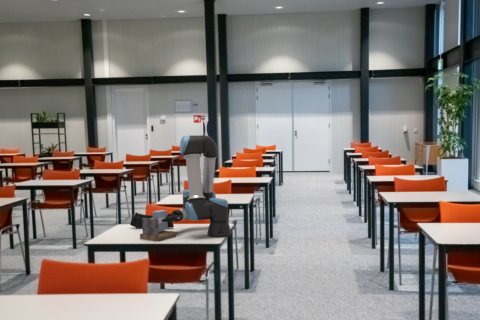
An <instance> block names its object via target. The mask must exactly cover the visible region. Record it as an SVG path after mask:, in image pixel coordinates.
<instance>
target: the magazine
mask: <svg viewBox="0 0 480 320" xmlns="http://www.w3.org/2000/svg"><path fill="white" fill-rule="evenodd" d="M142 218H153V214H152V215H151V214H150V215H149V214H142V213H138V212H135V213H134V214H133V217H132V218H131V219H130V220H131V221H130V224H129V225H130V226H131V227H133V228H135V229H143V226H142ZM174 227H175V225H174V221H171V222H169V221H168V229H170V228H174Z"/></svg>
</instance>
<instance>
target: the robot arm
mask: <svg viewBox="0 0 480 320" xmlns="http://www.w3.org/2000/svg"><path fill="white" fill-rule="evenodd" d="M179 154H180V155H182V157H183V159H184V160H185V163H186V164H185V165H186V172H187V173H186V174H187V186H188V189H184V190H183V191H182V208H180V209H179V208H178V209H176V210H173V211H172V212H171V213H167V217H166V219H165V218H160V219H158V224H159V223H163V222H165V221H166V222H168V221H169V222H171V221H173V222H175V223H177V222H180V221H181V222H183V221H186V220H189V221H191V222H192V221H206V220H209V226H208V229H207V237H211V238H225V237H229V236H231V235H232V230H231V227H230V224H229V203H228V200H227V199H225V198H220V197H219V198H216V192H215V190H214V181H215V172H216V171H215V170H216V169H215V168H216V158H217V157H218V154H219V151H218V145H217V144H216V141H215V140H214V139H213V138H212V137H211V136H209V135H206V134H205V135H204V134H203V135H185V136H182V137H181V138H180V142H179ZM202 156H203V157H204V158H203V165H202V167H203V170H202V172H201V160H200V158H201V157H202ZM150 219H153V218H150Z"/></svg>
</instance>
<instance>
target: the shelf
mask: <svg viewBox="0 0 480 320" xmlns="http://www.w3.org/2000/svg"><path fill="white" fill-rule="evenodd" d="M142 226H143V228H142V233H140V234H139V239H140V240H147V241H152V242H153V241H154V242H162V241H166V240H169V239H173V238H176V236H177V234H178V233H177V231H172V230H163V231H158V219H150V218H142Z"/></svg>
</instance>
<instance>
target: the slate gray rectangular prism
mask: <svg viewBox="0 0 480 320" xmlns="http://www.w3.org/2000/svg"><path fill="white" fill-rule="evenodd" d="M167 214H168V210H167V209H166V210H164V209H160V210H159V209H158V210H155V211H152V216H153V219H160V218H165V219H166V217H167ZM168 229H169V228H168V222H166V221H165V222H163V223H159V224H158V231H163V230H165V231H168Z"/></svg>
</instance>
